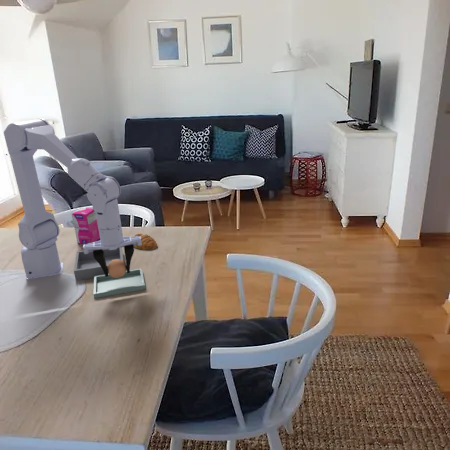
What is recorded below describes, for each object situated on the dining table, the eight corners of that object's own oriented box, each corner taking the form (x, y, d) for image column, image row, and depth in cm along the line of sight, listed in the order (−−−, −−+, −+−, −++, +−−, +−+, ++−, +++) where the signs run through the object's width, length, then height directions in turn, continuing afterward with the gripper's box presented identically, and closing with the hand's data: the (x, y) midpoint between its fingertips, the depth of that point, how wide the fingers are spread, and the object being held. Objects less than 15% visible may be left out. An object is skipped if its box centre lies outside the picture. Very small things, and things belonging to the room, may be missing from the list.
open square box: (76, 282, 115) (73, 271, 114) (78, 261, 127) (76, 251, 126) (125, 274, 118) (123, 263, 117) (123, 255, 130) (121, 244, 129)
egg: (109, 282, 108) (106, 265, 106) (108, 274, 112) (105, 257, 110) (128, 279, 109) (126, 262, 107) (126, 271, 113) (124, 254, 112)
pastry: (162, 247, 134) (161, 236, 133) (146, 255, 130) (144, 244, 128) (144, 240, 140) (143, 230, 139) (128, 247, 136) (126, 237, 134)
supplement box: (77, 244, 140) (70, 213, 135) (87, 237, 145) (81, 207, 141) (91, 246, 138) (85, 214, 134) (101, 239, 143) (96, 208, 139)
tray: (94, 300, 105) (93, 294, 105) (95, 281, 114) (94, 276, 114) (145, 290, 108) (144, 285, 108) (142, 273, 117) (141, 268, 117)
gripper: (79, 235, 100) (88, 284, 105) (139, 226, 103) (146, 275, 108) (80, 225, 106) (89, 272, 111) (137, 217, 109) (144, 263, 114)
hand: (117, 273), depth 110 cm, fingers closed on egg, 5 cm apart
